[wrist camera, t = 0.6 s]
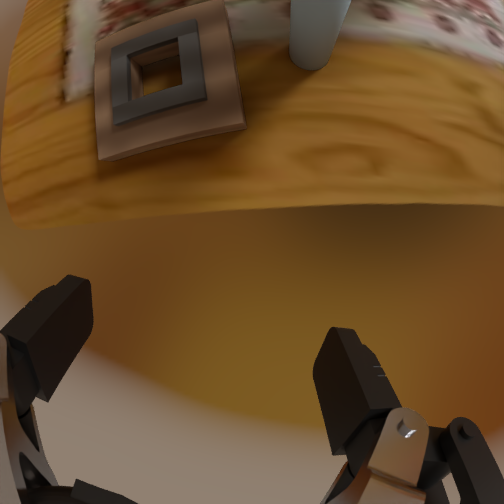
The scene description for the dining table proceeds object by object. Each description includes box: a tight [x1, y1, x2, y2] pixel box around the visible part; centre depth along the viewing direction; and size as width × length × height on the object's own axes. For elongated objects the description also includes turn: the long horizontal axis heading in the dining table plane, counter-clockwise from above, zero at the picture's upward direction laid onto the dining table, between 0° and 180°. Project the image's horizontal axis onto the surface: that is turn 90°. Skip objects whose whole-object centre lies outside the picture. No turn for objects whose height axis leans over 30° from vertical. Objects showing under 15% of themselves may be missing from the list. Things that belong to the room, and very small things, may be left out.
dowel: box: [289, 0, 351, 70], centre depth 17 cm, size 4×4×16 cm
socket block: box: [94, 0, 247, 161], centre depth 25 cm, size 16×16×4 cm
